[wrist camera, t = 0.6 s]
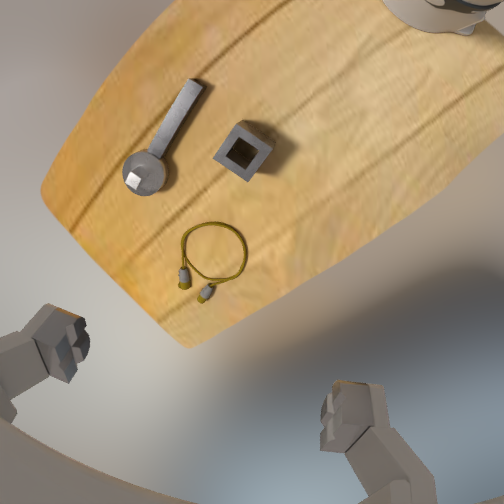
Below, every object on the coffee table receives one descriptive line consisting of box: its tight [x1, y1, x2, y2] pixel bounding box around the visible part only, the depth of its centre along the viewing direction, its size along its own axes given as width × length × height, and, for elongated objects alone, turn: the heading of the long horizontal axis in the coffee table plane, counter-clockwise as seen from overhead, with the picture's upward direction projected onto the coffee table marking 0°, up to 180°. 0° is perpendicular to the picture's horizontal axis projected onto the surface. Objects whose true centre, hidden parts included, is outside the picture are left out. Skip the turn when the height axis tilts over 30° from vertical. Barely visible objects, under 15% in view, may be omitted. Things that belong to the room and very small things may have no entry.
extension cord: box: [178, 222, 247, 303], centre depth 54 cm, size 12×16×2 cm
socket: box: [213, 120, 276, 182], centre depth 42 cm, size 6×6×5 cm
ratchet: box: [123, 79, 206, 196], centre depth 43 cm, size 20×7×6 cm, turn 146°
